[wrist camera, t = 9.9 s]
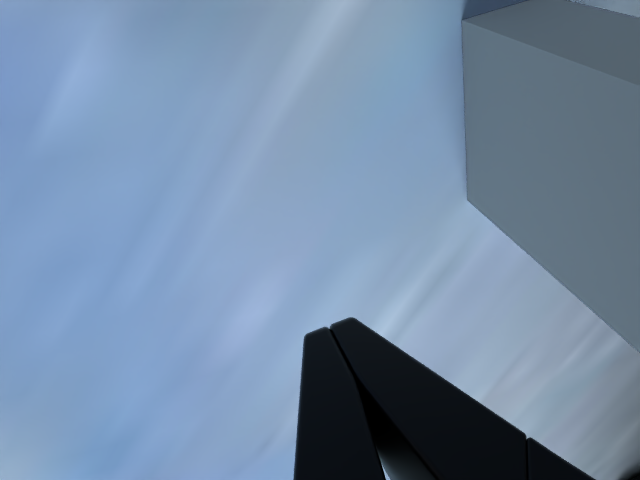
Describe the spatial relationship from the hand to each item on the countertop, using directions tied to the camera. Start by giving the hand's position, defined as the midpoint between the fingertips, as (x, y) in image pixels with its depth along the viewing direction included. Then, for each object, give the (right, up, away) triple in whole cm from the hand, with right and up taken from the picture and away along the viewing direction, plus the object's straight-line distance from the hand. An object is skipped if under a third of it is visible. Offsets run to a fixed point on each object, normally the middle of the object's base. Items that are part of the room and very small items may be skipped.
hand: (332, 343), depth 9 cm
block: (+5, +5, +5) cm, 9 cm away
